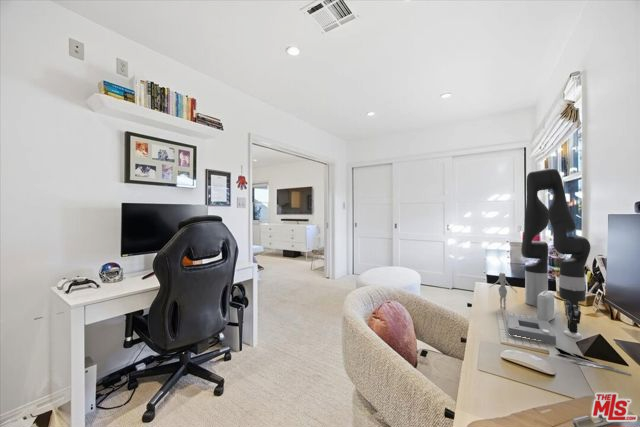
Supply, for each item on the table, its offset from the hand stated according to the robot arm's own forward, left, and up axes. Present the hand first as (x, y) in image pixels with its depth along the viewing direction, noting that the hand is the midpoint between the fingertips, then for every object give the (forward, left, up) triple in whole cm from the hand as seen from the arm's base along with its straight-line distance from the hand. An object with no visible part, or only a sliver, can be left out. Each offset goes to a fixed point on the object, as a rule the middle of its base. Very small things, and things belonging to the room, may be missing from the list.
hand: (572, 330), depth 103 cm
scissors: (+23, -2, -2) cm, 23 cm away
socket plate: (+6, -14, -2) cm, 15 cm away
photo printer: (-15, -6, -2) cm, 16 cm away
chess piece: (0, 0, -2) cm, 2 cm away
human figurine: (-20, -22, -2) cm, 30 cm away
